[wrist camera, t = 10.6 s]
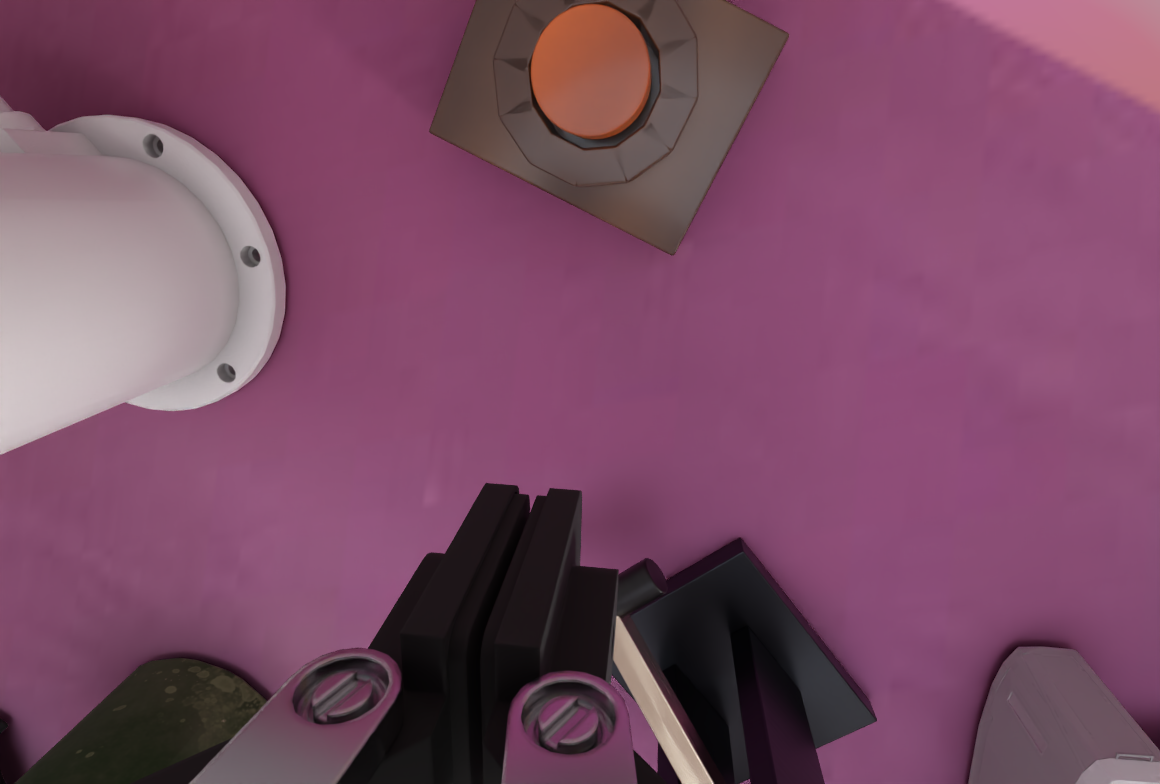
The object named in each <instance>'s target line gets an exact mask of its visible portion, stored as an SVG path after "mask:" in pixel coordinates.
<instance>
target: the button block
mask: <svg viewBox="0 0 1160 784" xmlns="http://www.w3.org/2000/svg"><path fill="white" fill-rule="evenodd" d="M584 4H600V5H605V6H609V7H611V8H614V9H616V10H618V11H619V12H621V13H623V14H624V15H625V16H627V17H628V18H629V19H630V20H631V21H632V22H633V23H634V24H635V25H636V27H637V28H638V30H639V31H640V32H641V34H642V36H643V38H644V40H645V43H646V46H647V48H648V53H649V57H650V65H651V87H650V92H649V96H648V99H647V102H646V104H645V106H644V108H643V110H642V112H641V113H640V115H639V116H638V118H637V119H636V120H635V121H634V122H633V123H632V124H631V125H630V126H629V127H628V128H626V129H625V130H623V131H622V132H620V133H618V134H616V135H614V136H611V137H608V138H604V139H585V138H581V137H578V136H575V135H573V134H571V133H568V132H566V131H564V130H562V129H561V128H559V127H557V126H556V125H555V124H554V123H552V122H551V121H550V120H549V118H548V117H547V116H546V115H545V114H544V112H543V111H542V110H541V108H540V106H539V104H538V102H537V100H536V97H535V95H534V91H533V88H532V82H531V61H532V56H533V52H534V49H535V46H536V43H537V41H538V39H539V37H540V35H541V34H542V32H543V30H544V29H545V28H546V27H547V25H548V24H549V23H550V22H551V21H552V20H553V19H554V18H555V17H556V16H558V15H559V14H561V13H562V12H564V11H566V10H568V9H570V8H572V7H575V6H578V5H584ZM788 38H789V34H788V33H787V32H785V31H783V30H781V29H780V28H778V27H776V26H774V25H772V24H770V23H768V22H766V21H764V20H762V19H760V18H759V17H757V16H755V15H753V14H751V13H749V12H747V11H745V10H743V9H741V8H739V7H737V6H736V5H734V4H732V3H730V2H728V1H726V0H476V2H475V5H474V8H473V10H472V13H471V16H470V19H469V21H468V24H467V27H466V30H465V33H464V35H463V38H462V41H461V44H460V46H459V49H458V52H457V55H456V58H455V60H454V63H453V66H452V69H451V71H450V74H449V77H448V80H447V83H446V85H445V88H444V91H443V94H442V96H441V99H440V102H439V105H438V108H437V110H436V113H435V116H434V119H433V121H432V124H431V127H430V131H429V132H430V133H431V134H433V135H435V136H437V137H439V138H441V139H443V140H445V141H447V142H449V143H451V144H453V145H455V146H457V147H459V148H461V149H463V150H465V151H467V152H469V153H471V154H473V155H475V156H476V157H478V158H480V159H482V160H484V161H486V162H488V163H490V164H492V165H494V166H496V167H498V168H500V169H502V170H504V171H506V172H508V173H510V174H512V175H514V176H516V177H518V178H520V179H522V180H524V181H526V182H528V183H530V184H532V185H534V186H536V187H538V188H540V189H542V190H544V191H546V192H547V193H549V194H551V195H553V196H555V197H557V198H559V199H561V200H563V201H565V202H567V203H569V204H571V205H573V206H575V207H577V208H579V209H581V210H583V211H585V212H587V213H589V214H591V215H593V216H595V217H597V218H599V219H601V220H603V221H605V222H607V223H609V224H611V225H613V226H615V227H617V228H618V229H620V230H622V231H624V232H626V233H628V234H630V235H632V236H634V237H636V238H638V239H640V240H642V241H644V242H646V243H648V244H650V245H652V246H654V247H656V248H658V249H660V250H662V251H664V252H666V253H668V254H670V255H674V254H675V253H676V251H677V249H678V247H679V245H680V243H681V241H682V239H683V238H684V236H685V234H686V232H687V230H688V228H689V226H690V224H691V222H692V220H693V219H694V217H695V215H696V213H697V211H698V209H699V207H700V205H701V203H702V201H703V200H704V198H705V196H706V194H707V192H708V190H709V188H710V186H711V184H712V182H713V180H714V179H715V177H716V175H717V173H718V171H719V169H720V167H721V165H722V163H723V161H724V160H725V158H726V156H727V154H728V152H729V150H730V148H731V146H732V144H733V142H734V141H735V139H736V137H737V135H738V133H739V131H740V129H741V127H742V125H743V123H744V121H745V120H746V118H747V116H748V114H749V112H750V110H751V108H752V106H753V104H754V102H755V101H756V99H757V97H758V95H759V93H760V91H761V89H762V87H763V85H764V83H765V82H766V80H767V78H768V76H769V74H770V72H771V70H772V68H773V66H774V64H775V62H776V61H777V59H778V57H779V55H780V53H781V51H782V49H783V47H784V45H785V43H786V42H787V40H788Z"/></svg>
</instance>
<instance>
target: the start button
mask: <svg viewBox="0 0 1160 784" xmlns="http://www.w3.org/2000/svg"><path fill="white" fill-rule="evenodd" d="M531 82H532V88H533V91H534V95H535V97H536V100H537V102H538V104H539V106H540V108H541V110H542V111H543V112H544V114H545V115H546V116H547V117H548V118H549V120H550V121H551V122H552V123H554V124H555V125H556V126H557V127H559V128H561V129H562V130H564V131H566V132H568V133H571V134H573V135H575V136H578V137H581V138H585V139H604V138H608V137H611V136H614V135H616V134H618V133H620V132H622V131H623V130H625V129H626V128H628V127H629V126H630V125H631V124H632V123H633V122H634V121H635V120H636V119H637V118H638V116H639V115H640V113H641V112H642V110H643V108H644V106H645V104H646V102H647V99H648V96H649V92H650V87H651V65H650V57H649V53H648V48H647V46H646V43H645V40H644V38H643V36H642V34H641V32H640V31H639V30H638V28H637V27H636V25H635V24H634V23H633V22H632V21H631V20H630V19H629V18H628V17H627V16H625V15H624V14H623V13H621V12H619V11H618V10H616V9H614V8H611V7H609V6H605V5H600V4H584V5H578V6H575V7H572V8H570V9H568V10H566V11H564V12H562V13H561V14H559V15H558V16H556V17H555V18H554V19H553V20H552V21H551V22H550V23H549V24H548V25H547V27H546V28H545V29H544V30H543V32H542V34H541V35H540V37H539V39H538V41H537V43H536V46H535V49H534V52H533V56H532V61H531Z"/></svg>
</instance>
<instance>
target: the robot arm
mask: <svg viewBox="0 0 1160 784" xmlns="http://www.w3.org/2000/svg"><path fill="white" fill-rule="evenodd" d="M258 252H259V254H260V257H259V255H258ZM285 297H286V284H285V278H284V271H283V264H282V258H281V255H280V252H279V249H278V246H277V243H276V240H275V237H274V234H273V230H272V228H271V227H270V225H269V223H268V221H267V219H266V217H265V215H264V213H263V211H262V209H261V207H260V205H259V203H258V202H257V200H256V199H255V198H254V196H253V195H252V194H251V192H250V191H249V189H248V188H247V187H246V185H245V184H244V183H243V181H242V180H241V179H240V177H239V176H238V175H237V174H236V173H235V172H234V171H233V170H232V169H231V168H230V167H229V166H228V165H227V164H226V163H225V162H224V161H223V160H222V159H221V158H220V157H219V156H218V155H216V154H215V153H213V152H212V151H211V150H209V149H208V148H206V147H205V146H204V145H202V144H201V143H199V142H198V141H197V140H195V139H194V138H192V137H190V136H188V135H186V134H184V133H182V132H180V131H178V130H175V129H173V128H171V127H169V126H167V125H165V124H161V123H157V122H153V121H149V120H145V119H141V118H137V117H125V116H116V115H97V116H83V117H79V118H76V119H73V120H70V121H67V122H64V123H61V124H58V125H56V126H55V127H53V128H51V129H50V130H48V131H46V130H44V129H43V128H42V127H41V125H40V124H39V123H38V122H37V121H36V120H35V119H34V118H33V117H32V116H31V114H28V113H25V112H21V111H14V110H13V109H12V108H11V107H10V106H9V105H8V104H7V103H6V102H5V100H4V99H3V98H2V97H1V96H0V455H1V454H4V453H6V452H8V451H11V450H13V449H15V448H18V447H20V446H22V445H25V444H27V443H30V442H32V441H34V440H37V439H39V438H41V437H44V436H46V435H48V434H51V433H53V432H56V431H58V430H60V429H63V428H65V427H67V426H70V425H72V424H74V423H77V422H79V421H82V420H84V419H86V418H89V417H91V416H93V415H96V414H98V413H100V412H103V411H105V410H108V409H110V408H112V407H115V406H117V405H119V404H122V403H124V402H125V403H129V404H132V405H136V406H139V407H143V408H147V409H154V410H165V411H179V410H188V409H196V408H199V407H202V406H205V405H208V404H211V403H214V402H217V401H219V400H221V399H223V398H225V397H227V396H229V395H231V394H232V393H234V392H236V391H238V390H239V389H241V388H242V387H243V386H244V385H246V384H247V383H248V382H249V381H251V380H252V379H253V378H255V377H256V375H257V374H258V373H259V372H260V370H261V369H262V368H263V366H264V365H265V364H266V363H267V361H268V360H269V359H270V356H271V354H272V352H273V350H274V348H275V346H276V344H277V342H278V339H279V337H280V332H281V328H282V324H283V320H284V315H285ZM581 518H582V492H581V491H579V490H567V489H554V488H550V489H549V491H548V494H547V496H539V495H537V497H536V499H535V502H534V504H533V507H532V509H531V512H530V499H529V495H526V494H519V488H518V486H516V485H504V484H491V483H486V484H485V485H484V486H483V488H482V490H481V492H480V493H479V495H478V497H477V499H476V500H475V502H474V504H473V506H472V507H471V509H470V511H469V513H468V514H467V516H466V518H465V520H464V521H463V523H462V525H461V527H460V528H459V530H458V532H457V534H456V535H455V537H454V539H453V541H452V542H451V544H450V546H449V548H448V549H447V551H446V553H445V554H443V553H428V554H427V555H426V556H425V557H424V559H423V560H422V562H421V563H420V565H419V567H418V568H417V570H416V572H415V573H414V575H413V576H412V578H411V580H410V581H409V583H408V584H407V586H406V588H405V589H404V591H403V593H402V594H401V596H400V597H399V599H398V601H397V602H396V604H395V605H394V607H393V609H392V610H391V612H390V614H389V615H388V617H387V618H386V620H385V622H384V623H383V625H382V626H381V628H380V630H379V631H378V633H377V635H376V636H375V638H374V639H373V641H372V643H371V644H370V646H369V647H368V649H365V648H351V649H342V650H338V651H335V652H331V653H328V654H325V655H322V656H320V657H318V658H316V659H315V660H313V661H311V662H309V663H307V664H305V665H304V666H303V667H302V668H301V669H299V670H298V671H297V672H296V673H295V674H293V675H292V676H291V677H290V678H289V679H288V680H287V681H286V682H285V683H284V685H283V686H282V687H281V688H280V689H279V690H278V691H277V692H276V693H275V694H274V695H273V696H272V697H271V698H270V699H269V700H268V701H267V702H266V703H265V704H264V706H263V707H262V708H261V709H260V710H259V711H258V712H257V713H256V714H255V715H254V716H253V717H252V718H251V719H250V720H249V721H248V722H247V723H246V724H245V725H244V726H243V728H242V729H241V730H240V731H239V732H238V733H237V734H236V735H235V736H234V737H233V738H231V739H228V740H226V741H224V742H222V743H219V744H217V745H215V746H213V747H210V748H208V749H206V750H204V751H202V752H199V753H197V754H195V755H193V756H190V757H188V758H186V759H184V760H181V761H179V762H177V763H175V764H173V765H170V766H168V767H166V768H164V769H161V770H159V771H157V772H155V773H152V774H150V775H148V776H146V777H144V778H141V779H139V780H137V781H135V782H132V783H130V784H668V783H667V782H666V781H665V780H664V779H663V778H662V777H661V776H659V775H658V774H657V773H656V772H655V771H654V770H653V769H652V768H651V767H650V766H649V765H648V764H647V763H646V762H645V761H644V760H643V759H642V758H641V757H640V756H639V755H638V754H637V753H636V752H635V751H634V750H633V744H632V737H631V729H630V721H629V714H628V711H627V708H626V705H625V701H624V699H623V698H622V697H621V695H620V694H619V693H618V692H617V690H616V689H615V688H614V687H613V686H611V675H612V665H613V655H614V643H615V629H616V614H617V595H618V569H607V568H596V567H585V566H580V551H581Z"/></svg>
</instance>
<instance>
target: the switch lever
mask: <svg viewBox="0 0 1160 784" xmlns="http://www.w3.org/2000/svg"><path fill="white" fill-rule="evenodd" d="M666 592H667V583H666V580H665V577H664V575H663V573H662V571H661V570H660V568H659V567H658V566H657V564H656V563H655V562H654V561H653V560H651V559H649V558H645V559H644V560H642V561H640V562H639V563H637V564H635V565H634V566H632V567H630V568H629V569H627V570H625V571H624V572H622V573H620V574H619V575H618V595H617V614H616V629H615V643H614V655H613V661H614V663H615V664H616V666H617V668H618V670H619V672H620V673H621V675H622V677H623V679H624V681H625V682H626V684H627V686H628V688H629V690H630V691H631V693H632V695H633V697H634V699H635V700H636V702H637V704H638V706H639V707H640V709H641V711H642V713H643V715H644V716H645V718H646V720H647V722H648V724H649V725H650V727H651V729H652V731H653V733H654V734H655V736H656V738H657V740H658V742H659V743H660V745H661V747H662V749H663V751H664V752H665V754H666V756H667V758H668V760H669V761H670V763H671V765H672V767H673V769H674V770H675V772H676V774H677V776H678V778H679V779H680V781H681V783H682V784H726V782H725V780H724V778H723V777H722V775H721V773H720V771H719V770H718V768H717V766H716V764H715V763H714V761H713V759H712V758H711V756H710V754H709V752H708V751H707V749H706V747H705V745H704V744H703V742H702V740H701V738H700V737H699V735H698V733H697V731H696V730H695V728H694V726H693V724H692V723H691V721H690V719H689V717H688V716H687V714H686V712H685V710H684V709H683V707H682V705H681V703H680V702H679V700H678V698H677V696H676V695H675V693H674V691H673V689H672V688H671V686H670V684H669V683H668V681H667V679H666V677H665V676H664V674H663V672H662V670H661V669H660V667H659V665H658V663H657V662H656V660H655V658H654V656H653V655H652V653H651V651H650V649H649V648H648V646H647V644H646V642H645V641H644V639H643V637H642V635H641V634H640V632H639V630H638V628H637V627H636V625H635V623H634V621H633V620H632V618H631V616H630V614H631V613H632V612H634V611H636V610H638V609H639V608H641V607H643V606H645V605H646V604H648V603H650V602H652V601H653V600H655V599H657V598H659V597H660V596H662V595H664V594H665V593H666Z"/></svg>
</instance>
